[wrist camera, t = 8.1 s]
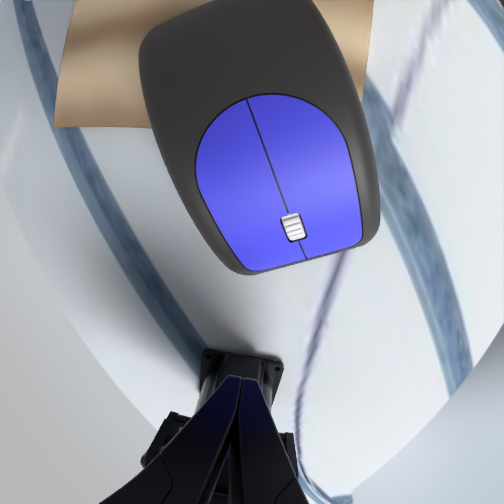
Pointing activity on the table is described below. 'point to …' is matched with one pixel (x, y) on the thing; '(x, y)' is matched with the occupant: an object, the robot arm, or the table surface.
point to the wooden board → (127, 49)
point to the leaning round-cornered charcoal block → (261, 131)
